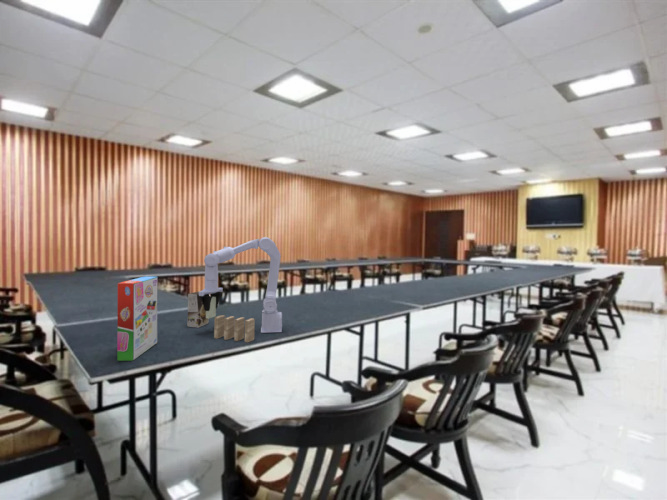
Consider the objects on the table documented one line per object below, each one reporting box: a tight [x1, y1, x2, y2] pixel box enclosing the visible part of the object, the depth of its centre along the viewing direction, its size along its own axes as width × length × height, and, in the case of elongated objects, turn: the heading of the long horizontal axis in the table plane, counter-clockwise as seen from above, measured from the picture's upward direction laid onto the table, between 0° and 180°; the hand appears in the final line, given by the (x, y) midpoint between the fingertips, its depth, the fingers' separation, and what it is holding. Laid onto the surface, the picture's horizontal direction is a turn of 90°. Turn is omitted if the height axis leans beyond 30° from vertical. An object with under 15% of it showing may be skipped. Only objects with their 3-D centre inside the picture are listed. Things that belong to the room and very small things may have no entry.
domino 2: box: [213, 314, 226, 339], centre depth 155 cm, size 2×5×9 cm, turn 162°
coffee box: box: [186, 291, 210, 329], centre depth 175 cm, size 9×6×16 cm
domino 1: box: [206, 297, 217, 319], centre depth 162 cm, size 2×5×9 cm, turn 162°
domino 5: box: [244, 317, 256, 343], centre depth 151 cm, size 2×5×9 cm, turn 162°
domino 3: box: [223, 315, 235, 341], centre depth 154 cm, size 2×5×9 cm, turn 162°
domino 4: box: [233, 316, 245, 342], centre depth 152 cm, size 2×5×9 cm, turn 162°
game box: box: [116, 275, 158, 362], centre depth 133 cm, size 21×6×27 cm, turn 5°
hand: (210, 309), depth 162 cm, fingers closed on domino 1, 5 cm apart
